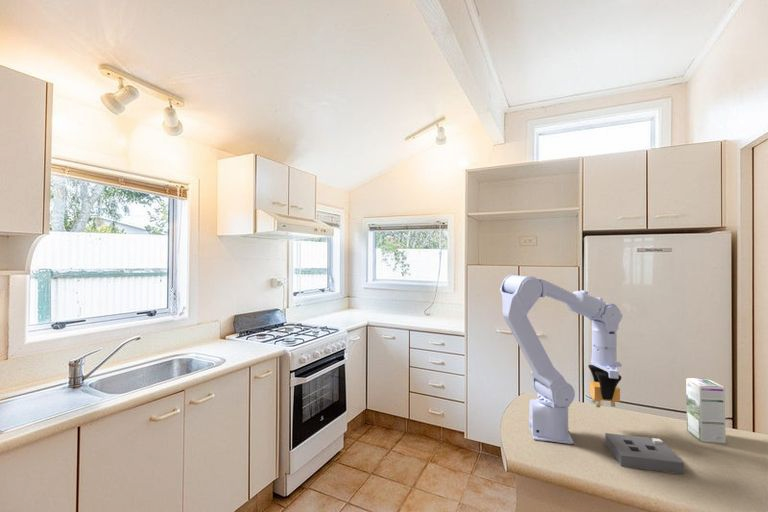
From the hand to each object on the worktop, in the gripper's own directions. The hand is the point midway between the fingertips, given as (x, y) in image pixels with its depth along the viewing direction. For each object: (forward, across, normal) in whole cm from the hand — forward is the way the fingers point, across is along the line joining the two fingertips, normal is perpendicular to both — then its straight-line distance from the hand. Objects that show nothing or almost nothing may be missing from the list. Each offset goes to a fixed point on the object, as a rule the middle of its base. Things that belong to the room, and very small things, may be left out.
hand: (604, 395), depth 95 cm
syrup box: (+10, +2, -24) cm, 26 cm away
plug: (+2, 0, 0) cm, 3 cm away
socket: (+9, -12, -4) cm, 16 cm away
